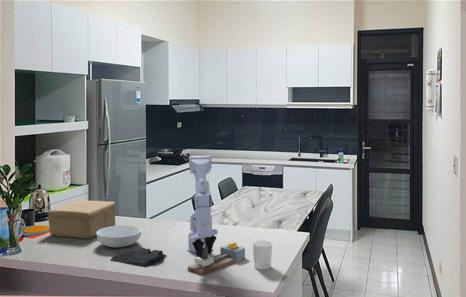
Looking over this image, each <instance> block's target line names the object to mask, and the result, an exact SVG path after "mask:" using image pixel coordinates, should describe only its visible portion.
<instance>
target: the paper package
mask: <svg viewBox="0 0 466 297" xmlns="http://www.w3.org/2000/svg"><path fill="white" fill-rule="evenodd" d="M47 218H48V227H49V232H50V233H49V234H50V236H53V235H56V236H55V237H62V236H66V237H65V238H74V237H76V238H75V239H77V238H78V239H85V238H86V240H88V239H89V240H90V239H93V238H94V237H97V234H96V232H97V231H98V230H100V229H102V228H106V227H110V226H116V201H109V200H106V201H105V200H83V199H82V200H81V199H79V200H76V201H73V202H70V203H67V204H64V205H62V206H58V207H56V208H55V207H54V208H53V209H49V210H47Z"/></svg>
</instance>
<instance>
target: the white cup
mask: <svg viewBox="0 0 466 297" xmlns="http://www.w3.org/2000/svg"><path fill="white" fill-rule="evenodd" d="M252 249H253V250H252V252H253V267H254V268H255V269H257V270H260V271H265V270H270V269H271V267H272V266H271V265H272V253H273V243H272V242H271V241H268V240H256V241H254V242H253V243H252Z"/></svg>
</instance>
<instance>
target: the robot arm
mask: <svg viewBox="0 0 466 297" xmlns="http://www.w3.org/2000/svg"><path fill="white" fill-rule="evenodd" d="M188 163H189V164H188V165H189V167H188V168H189V172H190V174H192V175H194V179H195V185H194V186H195V195H194V203H195V204H194V205H195V210H194V211H193V212H191V213H190V216H189V218H190V219H189V221H190V222H189V223H190V225H189V226H190V231H189V233H188V235H187V236H188V241H187V244H188V247H187V249H186V251H189V252H192V253H195V254H196V257H200V258H201V257H202V250H203V246H207V247H208V255H211V254H212V251H214V248H213V247H214V244H215V242H216V240H217V236H215V235H218V229H217V228H213V220H212V219H213V218H212V212H211V210H212V209H211V208H212V204H213V202H212V201H213V199H212V197H213V196H212V194H211V191H210V182H209V181H208V180H207V175H208V174H210V173H211V171H212V170H211V169H212V166H213V164H212V156H211V155H209V154H208V155H189V157H188Z"/></svg>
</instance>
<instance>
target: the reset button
mask: <svg viewBox="0 0 466 297" xmlns="http://www.w3.org/2000/svg"><path fill="white" fill-rule="evenodd" d="M227 245H228V248H229V249H232V250H234V249H237V246H238V245H237V242H236V241H229V242H228V244H227Z"/></svg>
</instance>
